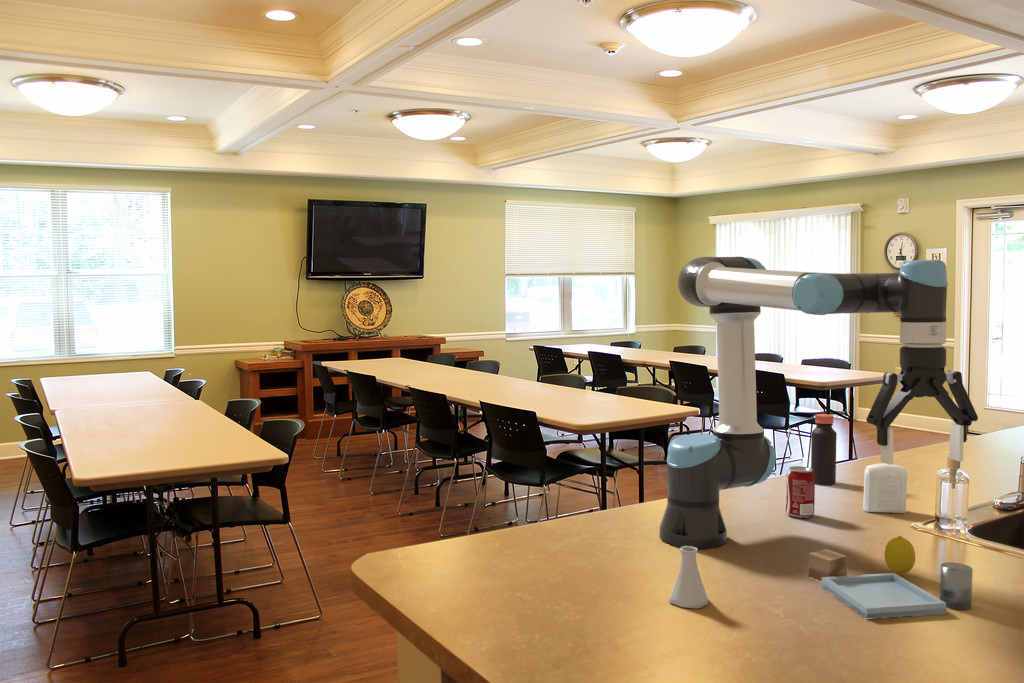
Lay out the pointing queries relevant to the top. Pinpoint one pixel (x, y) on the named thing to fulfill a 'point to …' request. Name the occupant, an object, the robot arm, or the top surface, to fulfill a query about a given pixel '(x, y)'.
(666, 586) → the top surface
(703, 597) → the flask
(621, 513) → the top surface
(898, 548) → the lemon
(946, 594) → the grey tin
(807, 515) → the soda can
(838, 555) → the walnut block
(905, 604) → the dish
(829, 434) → the bottle
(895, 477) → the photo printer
